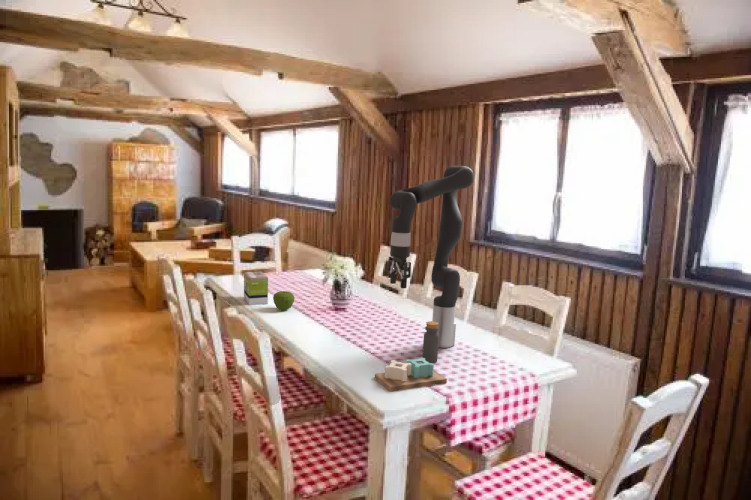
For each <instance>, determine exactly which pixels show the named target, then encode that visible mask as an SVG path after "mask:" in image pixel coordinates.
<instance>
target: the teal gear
mask: <svg viewBox="0 0 751 500" xmlns="http://www.w3.org/2000/svg"><path fill="white" fill-rule="evenodd" d="M418 362H421V363H422V364H418ZM405 363H411V364H412V369H411V373H412V374H413V375H414V378H418V377H420V376H427V375H429V376H433V370H435V369H434V367H435V364H434V363H429V362H427V361H426V360H425V358H422V357H421V358H419V359H418V358H417V359H406V361H405Z"/></svg>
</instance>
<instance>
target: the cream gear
mask: <svg viewBox="0 0 751 500" xmlns="http://www.w3.org/2000/svg"><path fill="white" fill-rule="evenodd" d="M397 365H400V366H401V367H398V366H397ZM411 369H412V364H411V363H406V362H399V361H396V360H393V359H392V360H390V363H389V365H385V366H384V372H385V378H386V379H388V378H393V379H398V380H401V381H403V382H404V381H406V380H407V376H409V375H411Z"/></svg>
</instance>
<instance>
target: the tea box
mask: <svg viewBox="0 0 751 500" xmlns="http://www.w3.org/2000/svg"><path fill="white" fill-rule="evenodd" d="M243 299H244V300H245V301H246V302H247V304H248V306H257V305H260V306H261V305H268V303H269V277H268V276H267V275H266V274H265V273H264V272H263V271H244V272H243Z"/></svg>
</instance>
